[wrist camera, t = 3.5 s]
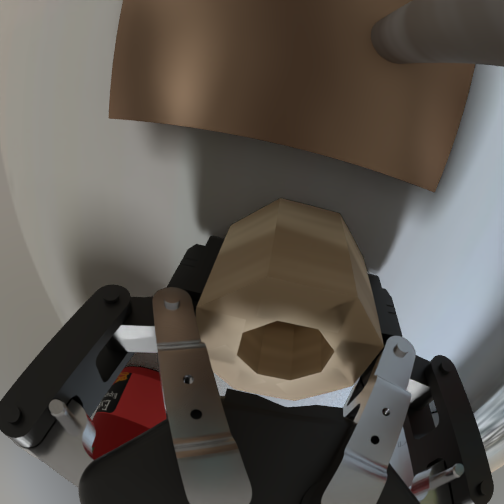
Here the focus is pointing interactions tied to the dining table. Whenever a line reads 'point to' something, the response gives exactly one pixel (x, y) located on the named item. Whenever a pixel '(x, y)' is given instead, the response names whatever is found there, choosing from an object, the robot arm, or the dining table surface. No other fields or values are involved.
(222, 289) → the beech gear
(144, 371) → the canned food
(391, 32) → the gear board
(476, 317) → the dining table surface
